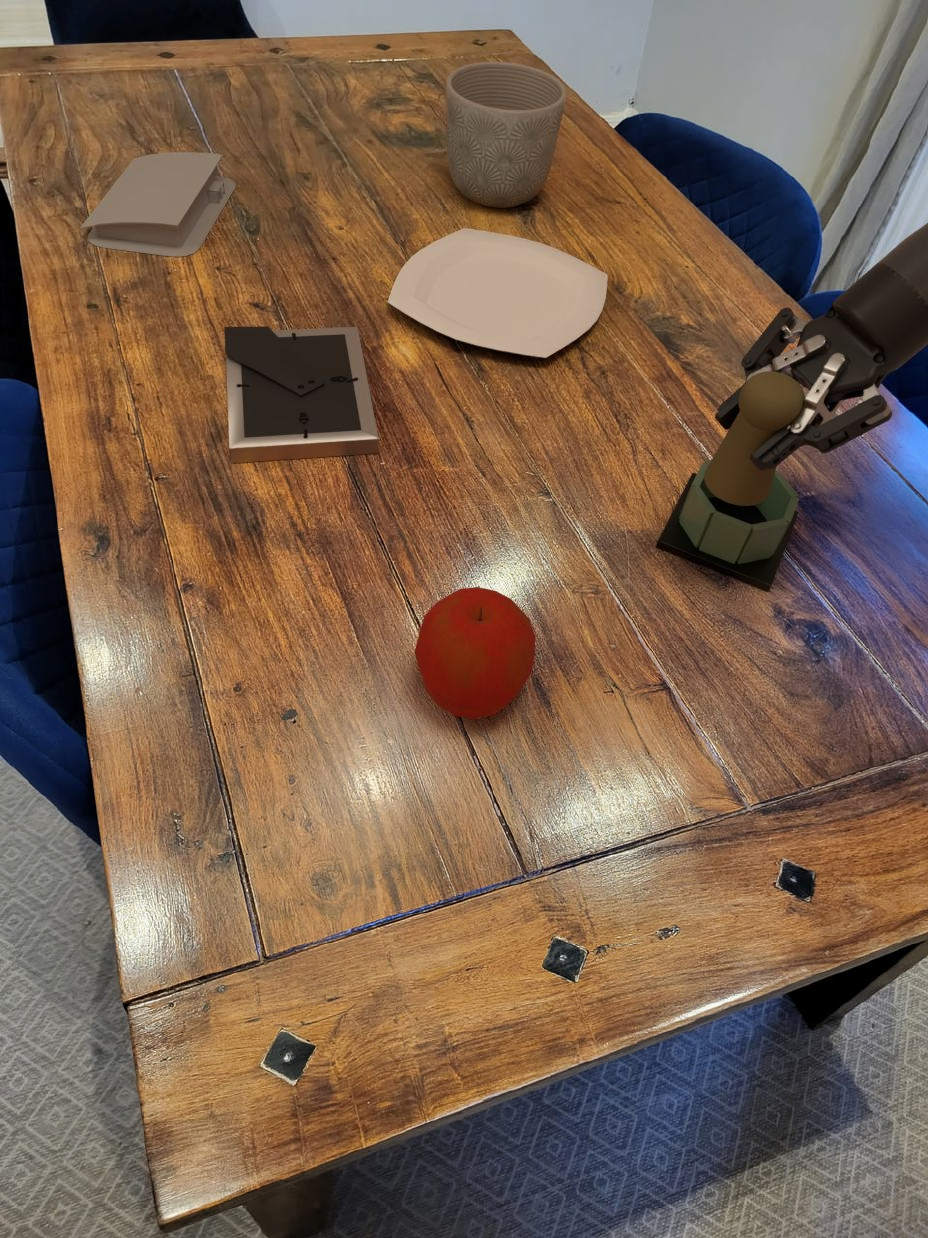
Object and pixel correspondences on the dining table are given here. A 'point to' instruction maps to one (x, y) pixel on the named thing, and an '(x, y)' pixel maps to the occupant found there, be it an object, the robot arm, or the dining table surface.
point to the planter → (502, 130)
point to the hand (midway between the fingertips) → (738, 443)
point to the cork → (753, 438)
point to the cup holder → (732, 530)
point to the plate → (500, 292)
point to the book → (161, 205)
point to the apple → (475, 652)
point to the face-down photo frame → (297, 394)
